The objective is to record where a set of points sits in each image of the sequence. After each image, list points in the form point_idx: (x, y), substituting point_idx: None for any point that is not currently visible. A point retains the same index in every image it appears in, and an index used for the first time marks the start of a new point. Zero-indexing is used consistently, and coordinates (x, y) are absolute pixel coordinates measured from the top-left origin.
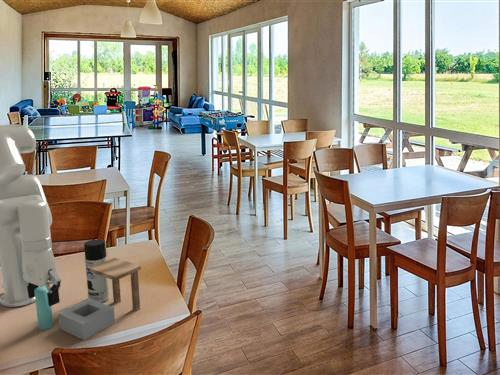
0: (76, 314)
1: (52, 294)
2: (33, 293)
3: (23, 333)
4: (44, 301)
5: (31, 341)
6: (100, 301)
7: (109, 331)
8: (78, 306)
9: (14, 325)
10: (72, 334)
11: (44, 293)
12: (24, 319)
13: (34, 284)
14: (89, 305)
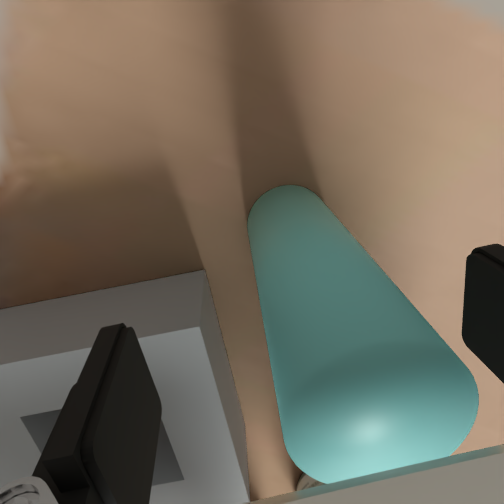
0: None
1: (36, 475)
2: (492, 308)
3: (314, 90)
4: (266, 323)
5: (176, 88)
6: (299, 485)
7: None
8: (195, 437)
9: (460, 86)
10: (92, 291)
11: (277, 398)
12: (473, 164)
13: (366, 476)
14: (174, 475)
